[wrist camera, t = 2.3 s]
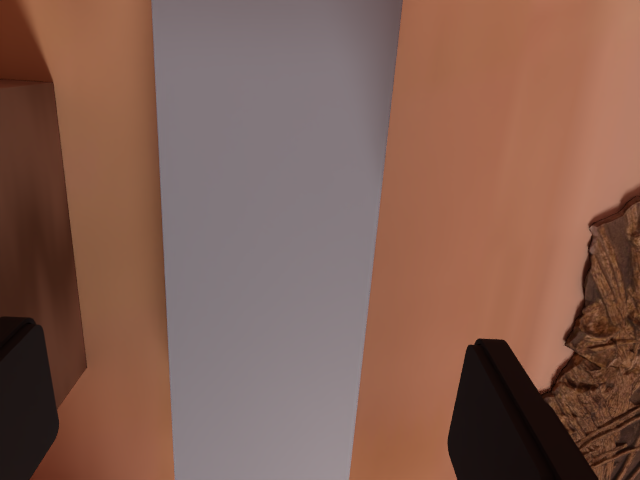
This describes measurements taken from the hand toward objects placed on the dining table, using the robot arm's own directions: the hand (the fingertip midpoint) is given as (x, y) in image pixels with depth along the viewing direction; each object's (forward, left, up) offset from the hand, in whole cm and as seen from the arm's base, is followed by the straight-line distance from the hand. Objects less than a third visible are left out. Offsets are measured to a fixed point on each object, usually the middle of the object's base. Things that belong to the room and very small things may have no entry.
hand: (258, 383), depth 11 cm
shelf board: (-1, 0, -6) cm, 6 cm away
